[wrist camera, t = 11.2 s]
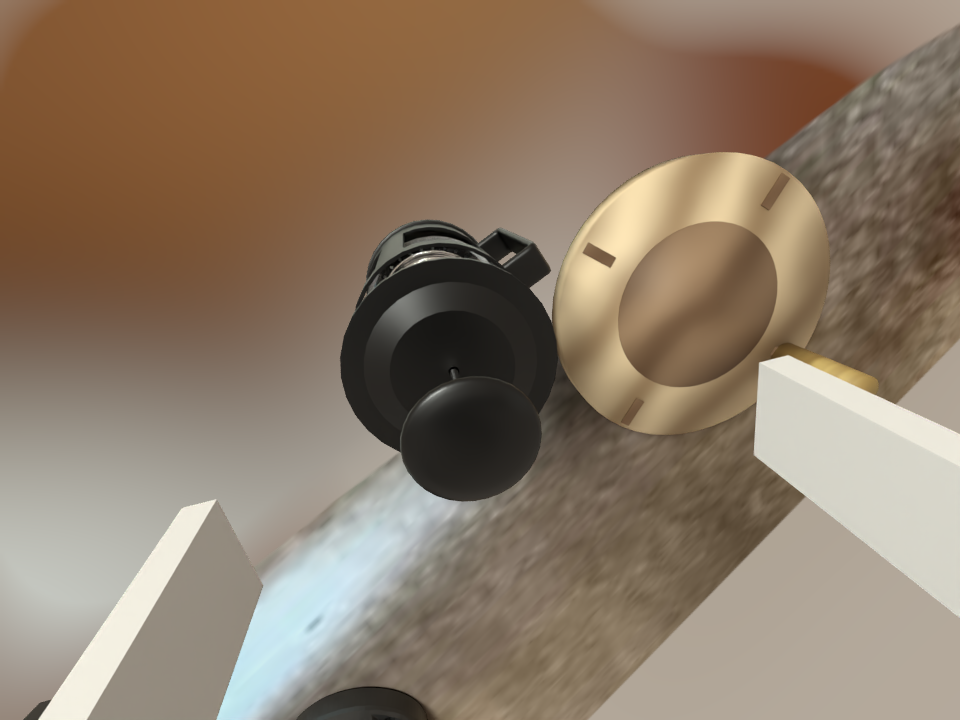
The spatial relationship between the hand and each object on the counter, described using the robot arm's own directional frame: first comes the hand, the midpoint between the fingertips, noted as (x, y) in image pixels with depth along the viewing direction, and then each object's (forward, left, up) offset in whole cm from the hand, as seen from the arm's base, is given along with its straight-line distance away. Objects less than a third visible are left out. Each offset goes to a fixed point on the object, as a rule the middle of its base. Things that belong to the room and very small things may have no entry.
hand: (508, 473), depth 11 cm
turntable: (+19, -6, -24) cm, 31 cm away
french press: (0, 0, -25) cm, 25 cm away
